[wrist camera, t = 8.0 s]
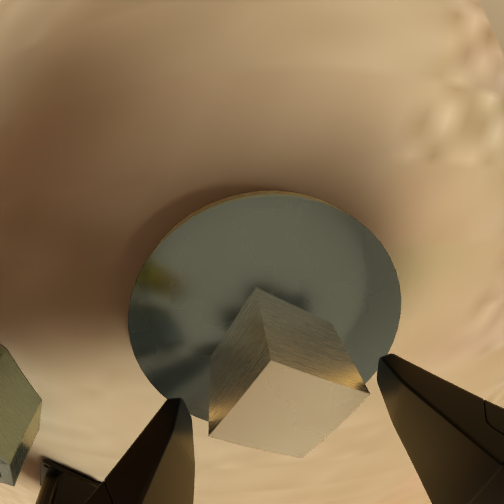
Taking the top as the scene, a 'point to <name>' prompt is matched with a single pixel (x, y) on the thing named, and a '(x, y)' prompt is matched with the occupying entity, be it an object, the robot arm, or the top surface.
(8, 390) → the tin
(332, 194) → the top surface
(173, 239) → the tin lid
